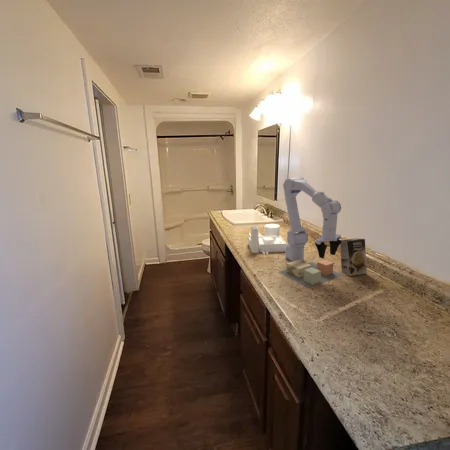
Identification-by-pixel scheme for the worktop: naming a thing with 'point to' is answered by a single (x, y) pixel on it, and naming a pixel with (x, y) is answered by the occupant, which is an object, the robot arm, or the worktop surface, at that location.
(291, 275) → the slate mat
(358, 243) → the coffee box
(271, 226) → the power plant
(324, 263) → the terracotta cube
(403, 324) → the worktop surface
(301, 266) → the birch slab
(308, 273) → the sage cube
